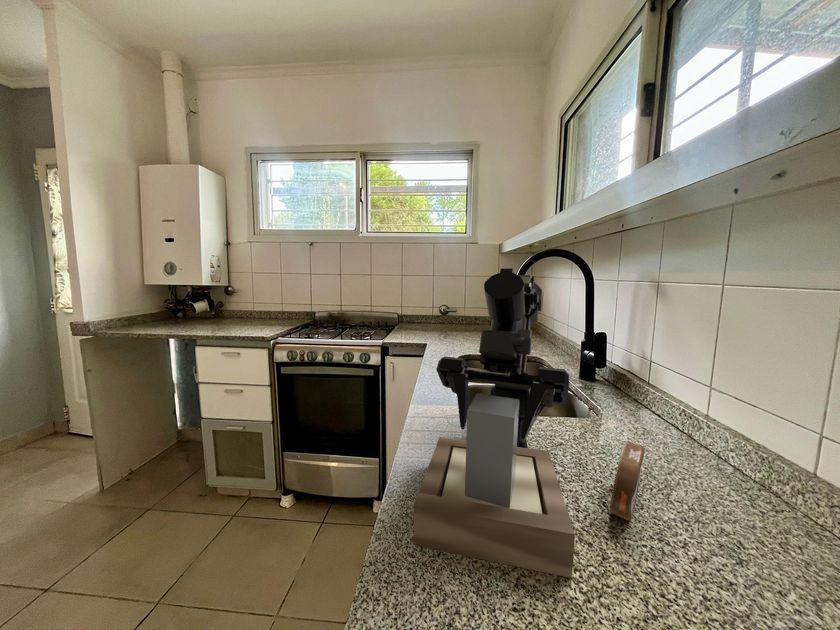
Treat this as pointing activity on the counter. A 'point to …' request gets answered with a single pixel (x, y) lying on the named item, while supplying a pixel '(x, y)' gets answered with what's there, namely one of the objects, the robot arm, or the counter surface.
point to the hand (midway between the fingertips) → (491, 434)
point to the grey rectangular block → (491, 448)
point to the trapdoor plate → (523, 490)
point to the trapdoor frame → (496, 519)
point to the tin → (627, 481)
